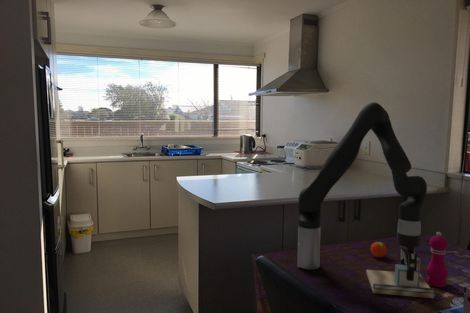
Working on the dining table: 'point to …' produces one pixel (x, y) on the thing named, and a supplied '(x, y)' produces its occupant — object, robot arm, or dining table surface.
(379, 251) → the clementine
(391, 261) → the dining table surface
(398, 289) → the shelf board
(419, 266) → the spice jar
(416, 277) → the tea box
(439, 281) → the pepper mill
